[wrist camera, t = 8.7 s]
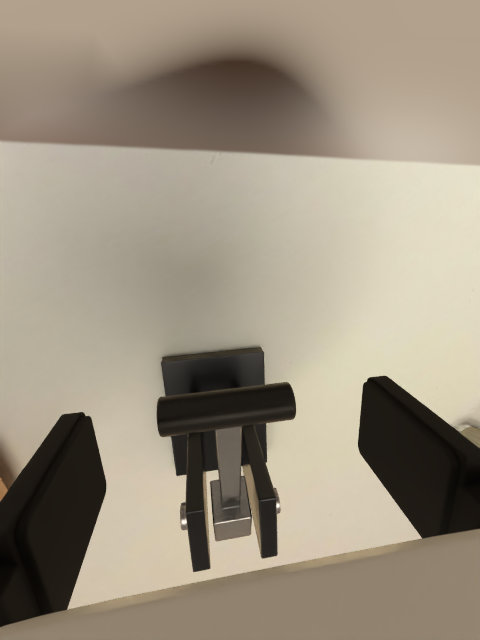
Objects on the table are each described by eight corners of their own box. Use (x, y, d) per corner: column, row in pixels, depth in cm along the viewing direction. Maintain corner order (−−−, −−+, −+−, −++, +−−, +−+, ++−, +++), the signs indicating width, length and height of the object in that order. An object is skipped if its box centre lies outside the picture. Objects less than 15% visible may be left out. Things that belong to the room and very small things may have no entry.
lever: (158, 381, 13) (154, 432, 11) (284, 367, 13) (302, 412, 11) (187, 504, 20) (188, 546, 18) (267, 490, 21) (276, 530, 19)
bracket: (162, 357, 27) (135, 459, 15) (261, 347, 28) (312, 434, 16) (177, 467, 30) (165, 625, 18) (264, 454, 31) (309, 594, 19)
